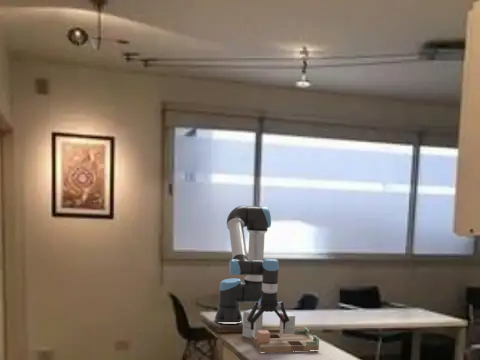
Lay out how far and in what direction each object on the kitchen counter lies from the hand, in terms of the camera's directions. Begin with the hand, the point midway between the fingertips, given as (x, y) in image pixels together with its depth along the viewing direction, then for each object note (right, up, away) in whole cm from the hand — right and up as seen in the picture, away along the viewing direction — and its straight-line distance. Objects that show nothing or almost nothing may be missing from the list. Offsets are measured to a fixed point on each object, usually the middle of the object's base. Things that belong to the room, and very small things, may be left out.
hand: (267, 336), depth 235 cm
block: (-2, -2, 0) cm, 3 cm away
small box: (+11, -6, +21) cm, 24 cm away
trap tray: (+8, -5, +2) cm, 10 cm away
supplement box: (-7, -5, +15) cm, 17 cm away
